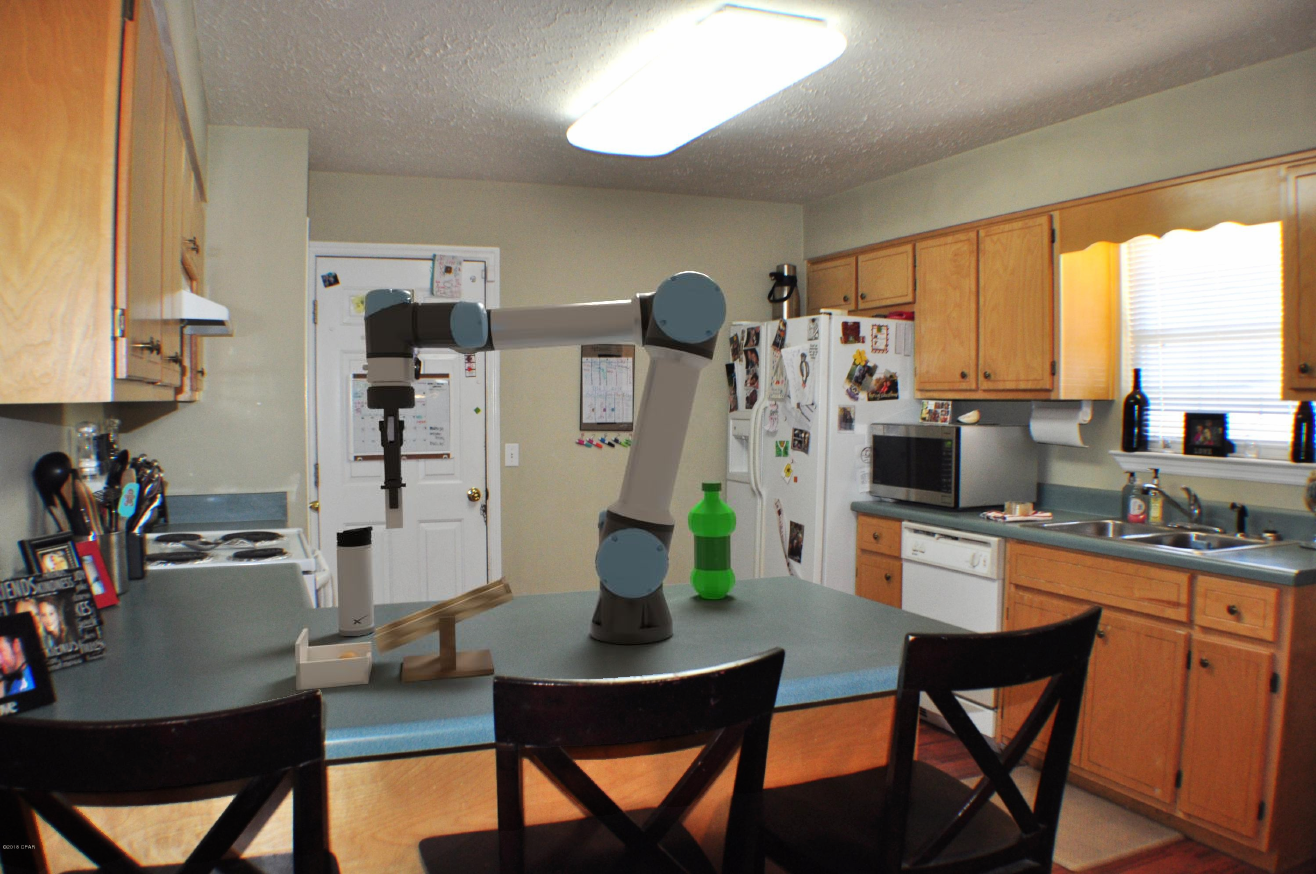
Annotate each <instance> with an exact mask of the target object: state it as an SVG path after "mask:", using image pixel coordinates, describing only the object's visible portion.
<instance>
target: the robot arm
mask: <svg viewBox="0 0 1316 874" xmlns="http://www.w3.org/2000/svg"><path fill="white" fill-rule="evenodd" d="M726 315H727V302H726V298H725V295H724V293H723V290H722V288H720V286H719V284H718V283H717V282H716V281H715V280H713V279H712V278H711V277H710V276H708V275H706V274H704V273H701V272H698V271H683V272H682V271H681V272H678V273H674V274H673V275H671V276H669V277H667V278H666V279H665V280H663V282H661V283H660V285H659V286H658V287H657V290H656V291H651V292H645V293H644V292H643V293H636V294H635V295H634V296H633V297H632V298H631V299H624V300H612V301H611V300H608V301H595V302H594V301H593V302H591V301H590V302H580V303H579V302H578V303H577V302H576V303H563V304H561V303H560V304H549V305H548V304H546V305H534V306H533V305H532V306H516V307H503V308H502V307H501V308H491V309H489V308H488V309H487V308H486V307H485V305H484V304H483V303H481V302H476V301H474V302H472V301H471V302H469V301H465V300H460V301H447V302H446V301H445V302H418V301H414V299H413V294H412V293H411V292H410V291H408V290H406V289H397V288H395V289H394V288H379V289H372V290H370V291H368V292H367V293H366V295H365V299H364V316H363V321H364V333H365V334H364V335H365V353H366V354H365V359H366V361H365V362H366V363H367V364H363V365H362V367H361V369H362V370H363V371H366V382H367V383H368V384H370V386H368V387H367V388H366V407H367V408H368V409H369V410H383V420H378V430H379V432H380V445H381V448H383V467H384V468H383V469H384V470H383V471H384V480H383V484H384V485H382V484H381V485H380V490H384V505H385V507H384V508H385V510H384V512H385V530H390V529H391V530H392V529H403V528H404V504H403V503H404V502H403V488H406V487H407V483H406V482H403V476H402V447H403V445H404V430H405V420H404V419H400V410H404V409H405V410H406V409H414V408H415V406H416V397H415V396H416V394H415V392H416V391H415V387H414V386H412V384H413V383H414V382H415V374H416V373H415V358H414V351H415V349H449V350H452V351H454V352H457V353H459V354H460V355H461V354H462V355H474V354H477V353H481V352H493V351H494V352H495V351H507V350H508V351H509V350H524V349H525V350H526V349H527V350H528V349H539V348H542V349H543V348H557V347H571V346H584V345H585V346H587V345H603V344H616V343H618V344H620V343H632V342H633V343H634V344H635V345H638V347H640V348H644V350H645V352H646V353H647V355H648V356H649V364H648V368H647V373H646V376H645V382H644V386H643V389H642V390H643V391H642V395H641V399H640V403H639V409H638V411H637V417H636V422H635V425H634V430H633V435H632V439H631V443H630V444H631V445H630V448H629V451H628V452H629V453H628V457H627V461H626V465H625V471H624V474H623V478H622V483H621V488H620V493H619V496H618V499H617V500H616V501H614V502H613V503H610V504H609V505H608V506H607V509H604V510H602V511H600V512H599V515H598V522H597V529H598V547H597V550H596V554H595V559H594V564H595V566H594V567H595V570H596V574H597V576H598V579H599V593H598V596H597V600H596V603H595V606H594V610H593V614H592V617H591V620H590V636H591V637H592V638H593V639H594V640H597V641H601V642H603V643H610V644H619V645H638V644H642V645H643V644H649V643H655V642H659V641H663V640H666V639H667V638H669V637H671V636H672V635H673V634H674V622H673V618H672V615H671V612H670V608H669V606H668V603H667V600H666V597H665V594H664V584H663V581H664V580H665V579H666V577H667V574H668V570H669V568H670V567H669V566H670V563H669V559H670V558H669V552H670V548H671V543H672V538H673V535H674V529H675V526H676V520H675V519H674V517H673V515H672V514H671V512H670V507H671V501H672V498H673V495H674V494H673V493H674V490H675V489H674V488H675V484H676V480H677V476H678V471H679V468H680V463H681V458H682V453H683V449H684V445H685V440H686V436H687V432H688V427H689V423H690V419H691V414H692V410H693V405H694V401H695V396H696V393H697V392H696V391H697V387H698V383H699V379H700V374H701V371H702V370H703V369H704V368H706V367H707V366H709V365H710V364H712V362H713V358H714V354H715V351H716V345H717V341H718V336H719V332H720V330H721V329H722V327H723V325H724V323H725V321H726Z"/></svg>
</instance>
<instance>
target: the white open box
mask: <svg viewBox="0 0 1316 874" xmlns="http://www.w3.org/2000/svg"><path fill="white" fill-rule="evenodd" d="M294 646H295V647H294V648H295V649H294V650H295V651H294V653H295V656H294V657H295V679H296V680H295V681H296V682H295V683H296V684H295V685H296V686H295V687H296V688H295V689H296V691H305V690H313V689H323V688H324V689H325V688H334V687H345V686H355V685H356V686H357V685H366V684H367V685H368V684H369V682H370V681H369V680H370V677H371V672H372V667H373V665H372V664H373V660H372V659H373V657H372V656H373V655H372V654H373V652H372V647H373V646H372V641H364V642H363V641H362V642H353V643H352V642H351V643H349V642H348V643H338V644H326V645H313V646H311V645H310V646H309V628H308V627H307V628H303V630H302V631H301V633H300V635H299V636H298V638H297V639H296V641H295V643H294ZM344 653H353V654H355V655H356V656H357V658H345V659H338V658H339V657H340V656H341V655H342V654H344Z"/></svg>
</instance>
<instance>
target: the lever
mask: <svg viewBox="0 0 1316 874" xmlns="http://www.w3.org/2000/svg"><path fill="white" fill-rule="evenodd" d="M513 600H515V596H514V595H513V592H512V589H511V587H510V583H509V582H508V580H507V577H506V576H502V577H500V578H498V579H496V580H494V581H491V582H489V583H486V584H483V585H481V586H479V587H476V588H473V589H472V590H468V591H467V592H464V593H462V594H459V595H457V596H456V595H455V596H454V597H452V598H449V599H446V600H443V601H442V602H439V603H437V604H436V603H435V605H432V606H429V607H426V608H424V609H421V610H419V611H417V612H414V613H412V614H409V615H407V616H404V617H402V618H400V619H398V620H395V621H393V622H390V623H387V624H385V625H383V626H380V627H377V628H375V632H376V635H374V636H373V640H374V642H375V645H376V647H377V650H378V653H379V655H383V654H385V653H387V652H390V651H393V650H395V649H397V648H399V647H400V648H401V647H402V646H404V645H407V644H410V643H411V642H415V641H417V640H420V639H421V638H424V637H427V636H429V635H431V634H433V633H437V632H439V630H440V626H439V616H453V615H455V625H456V624H458V623H460V622H462V621H465V620H467V619H470V618H472V617H475V616H478V615H480V614H482V613H485V612H487V611H489V610H493V609H495V608H497V607H499V606H502V605H504V604H506V603H509V602H511V601H513Z"/></svg>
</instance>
